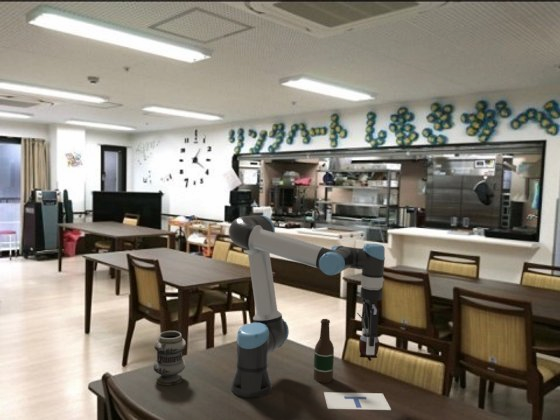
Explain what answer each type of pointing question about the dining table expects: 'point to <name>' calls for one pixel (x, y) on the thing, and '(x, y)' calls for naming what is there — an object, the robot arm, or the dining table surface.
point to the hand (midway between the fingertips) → (367, 350)
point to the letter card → (356, 401)
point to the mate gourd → (364, 344)
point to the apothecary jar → (169, 357)
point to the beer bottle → (324, 355)
